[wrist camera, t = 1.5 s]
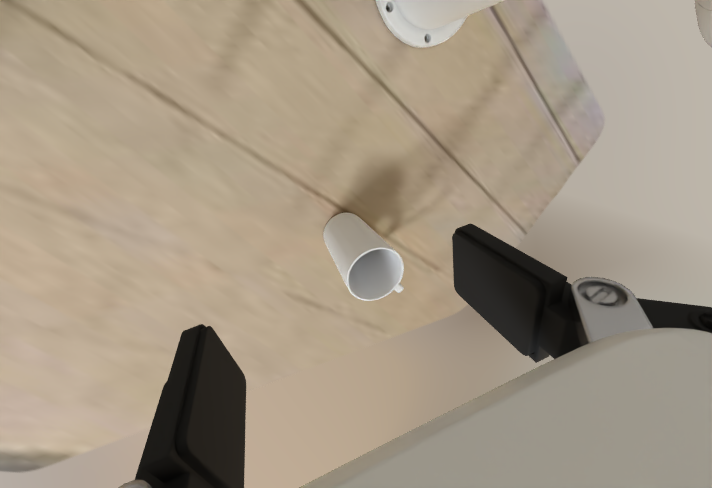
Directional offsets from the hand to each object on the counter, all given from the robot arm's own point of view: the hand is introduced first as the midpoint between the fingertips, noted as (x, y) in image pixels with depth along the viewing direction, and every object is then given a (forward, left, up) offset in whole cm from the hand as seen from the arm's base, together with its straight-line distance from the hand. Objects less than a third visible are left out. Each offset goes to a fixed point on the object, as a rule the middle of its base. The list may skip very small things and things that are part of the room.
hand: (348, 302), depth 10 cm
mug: (-1, +14, -28) cm, 31 cm away
